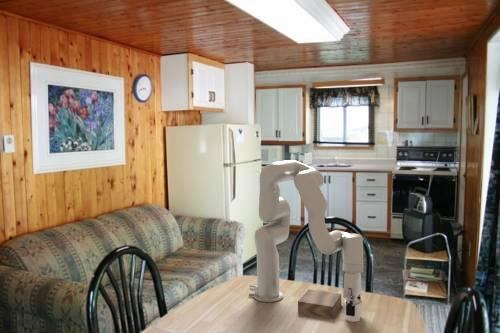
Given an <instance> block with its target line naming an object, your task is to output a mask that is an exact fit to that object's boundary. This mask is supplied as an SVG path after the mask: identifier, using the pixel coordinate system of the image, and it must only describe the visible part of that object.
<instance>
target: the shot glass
mask: <svg viewBox="0 0 500 333" xmlns="http://www.w3.org/2000/svg"><path fill="white" fill-rule="evenodd" d="M351 301H352V300H351ZM342 302H343V314H344V319H345V320H346V321H347V322H352V323H353V322H354V323H355V322H359V321H360V320H361V312H362V302H363V301H362V300H359V299H357V298H356V299H355V301H354V305H355V316H348V315H346V298H343V301H342Z"/></svg>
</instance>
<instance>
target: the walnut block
mask: <svg viewBox="0 0 500 333" xmlns="http://www.w3.org/2000/svg"><path fill="white" fill-rule="evenodd" d="M341 306H342V293H338V292H337V293H336V292H330V291H323V290H316V289H315V290H314V289H310V288H309V289H308V288H307V290H306V291H305V293H304V294H303V295H302V296H301V297H300V298H299V299H298V300H297V313H299V314H303V315H304V314H306V315H309V316H316V317H321V318H329V319H334V317H335V315H336V314H337V312H338V311H339V309H340V308H341Z"/></svg>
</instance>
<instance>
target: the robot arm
mask: <svg viewBox="0 0 500 333" xmlns="http://www.w3.org/2000/svg"><path fill="white" fill-rule="evenodd" d="M324 179H325V178H324V176H323V174H322V172H320V171H319V170H318V169H316V168H314V167H312V166H309V165H307V164H304V163H302V162H300V161H298V160H293V159H289V160H281V161H280V160H279V161H275V162H271V163H269V164H267V165H265V166H264V167H263V168H262V169H261V171H260V173H259V198H258V218H259V219H260V220H261V221H262V222H264V223H265V224H263V225H261V226H259V227H258V228H257V229H256V230H255V232H254V235H253V237H254V243H255V244H254V245H255V250H256V276H257V277H256V282H257V284H252V283H251V284H249V291H253V292H254V293H253V298H254V299H255V300H256V301H259V302H261V303H262V302H263V303H273V302H279V301H280V300H283V298H284V293H283V291H281V290H280V257H279V256H280V255H279V252H278V249H277V245H279V244H281V243H283V242H286V240H287V239H288V237H289V235H290V225H291V207H290V204H289V201H288V200H287V199H286V198H283V197H280V194H281V192H280V190H281V188H280V185H279V183H283V182H289V181H293V184H294V187H295V188H296V191H297V193H298V195H299V198H300V199H301V201H302V203H303V205H304V207H305V209H306V211H307V223H308V230H309V233H310V236H311V238H312V240H313V242H314V244H315V246H316V248H317V249H318V251H319V252H320V253H321V254H324V255H332V254H334V253H336V252H339V251H342V271H343V272H344V274H343V289H342V290H343V295H342V296H343V299H346V315H348V316H355V305H354V301H355V299H356V298H357V299H359V300H361V299H362V298H361V291H362V275H361V274H362V273H363V272H364V239H363V236H362V235H361V234H359V233H356V232H355V233H353V232H352V233H349V232H345V231H343V230H339V229H337V230H332V231H331V232H329V229H328V227H327V225H326V221H325V216H326V215H325V214H326V212H327V208H328V205H329V204H328V202H327V199H326V197H325V195H324V193H323V191H322V189H321V187H322V186H323V185H324ZM351 300H352V301H351ZM361 301H362V300H361Z"/></svg>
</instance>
